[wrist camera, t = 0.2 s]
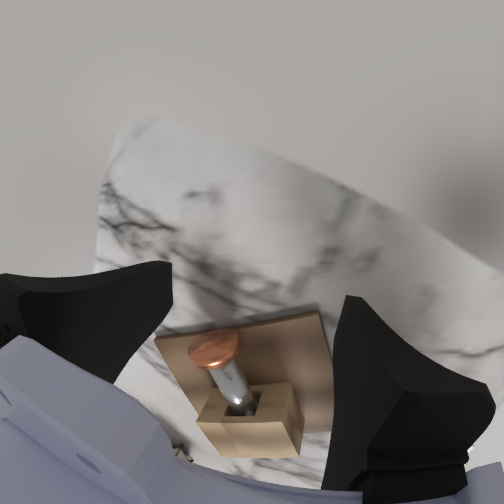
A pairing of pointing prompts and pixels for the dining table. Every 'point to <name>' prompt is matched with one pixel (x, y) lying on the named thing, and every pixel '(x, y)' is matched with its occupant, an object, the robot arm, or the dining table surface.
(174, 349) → the block
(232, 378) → the pin
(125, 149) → the dining table surface
